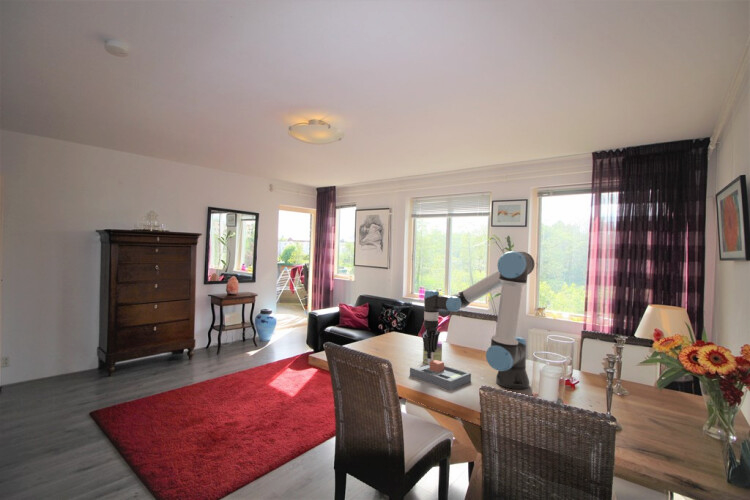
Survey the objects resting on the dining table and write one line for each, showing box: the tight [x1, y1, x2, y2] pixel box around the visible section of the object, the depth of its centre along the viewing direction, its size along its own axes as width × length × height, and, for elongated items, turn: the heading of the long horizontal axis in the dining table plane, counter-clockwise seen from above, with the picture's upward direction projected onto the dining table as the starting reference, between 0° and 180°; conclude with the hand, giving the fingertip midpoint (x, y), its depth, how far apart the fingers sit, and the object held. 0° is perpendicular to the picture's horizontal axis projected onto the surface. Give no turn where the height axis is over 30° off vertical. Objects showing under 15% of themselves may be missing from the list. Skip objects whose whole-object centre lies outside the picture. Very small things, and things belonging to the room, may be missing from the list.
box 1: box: [422, 341, 443, 365], centre depth 204 cm, size 10×6×12 cm, turn 84°
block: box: [430, 360, 445, 372], centre depth 184 cm, size 6×5×4 cm
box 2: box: [409, 364, 472, 391], centre depth 179 cm, size 25×17×4 cm
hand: (430, 364), depth 187 cm, fingers closed
